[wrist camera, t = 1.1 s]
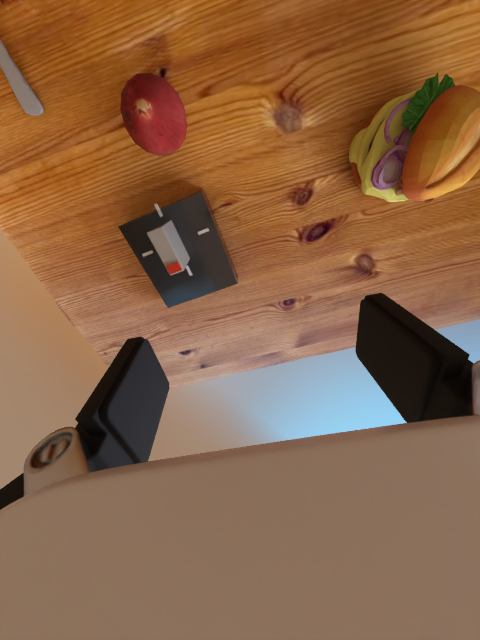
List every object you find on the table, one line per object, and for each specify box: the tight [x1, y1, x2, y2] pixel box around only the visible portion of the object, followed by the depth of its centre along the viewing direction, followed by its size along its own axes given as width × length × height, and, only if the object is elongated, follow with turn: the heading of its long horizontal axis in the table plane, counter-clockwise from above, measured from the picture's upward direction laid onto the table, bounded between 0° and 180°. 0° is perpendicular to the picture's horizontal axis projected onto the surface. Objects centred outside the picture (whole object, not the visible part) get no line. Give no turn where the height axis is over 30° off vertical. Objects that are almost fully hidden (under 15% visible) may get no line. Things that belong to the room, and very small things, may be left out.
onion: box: [120, 73, 187, 156], centre depth 21 cm, size 6×6×8 cm
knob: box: [147, 220, 190, 275], centre depth 26 cm, size 5×2×5 cm, turn 20°
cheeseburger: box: [349, 73, 480, 202], centre depth 23 cm, size 10×11×10 cm
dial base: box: [118, 190, 238, 308], centre depth 31 cm, size 13×11×3 cm
